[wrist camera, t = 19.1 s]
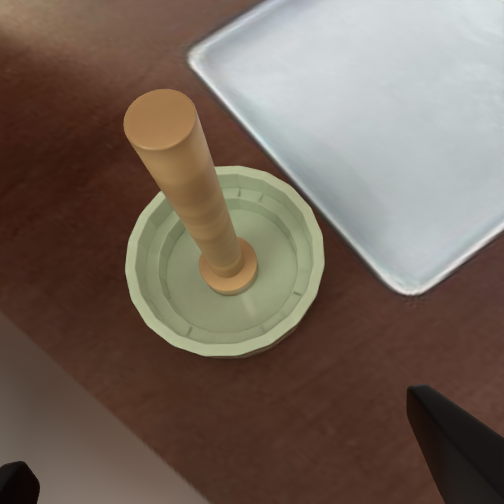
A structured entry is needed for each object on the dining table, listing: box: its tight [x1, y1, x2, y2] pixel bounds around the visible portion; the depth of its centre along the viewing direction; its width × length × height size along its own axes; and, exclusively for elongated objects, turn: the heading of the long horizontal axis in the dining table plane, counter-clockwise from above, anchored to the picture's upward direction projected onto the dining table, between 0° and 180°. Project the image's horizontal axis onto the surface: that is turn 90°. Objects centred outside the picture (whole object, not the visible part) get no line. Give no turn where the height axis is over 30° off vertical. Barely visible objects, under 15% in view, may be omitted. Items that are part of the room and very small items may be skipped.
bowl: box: [125, 166, 325, 359], centre depth 22 cm, size 11×11×4 cm
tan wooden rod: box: [124, 89, 258, 296], centre depth 16 cm, size 4×4×14 cm
